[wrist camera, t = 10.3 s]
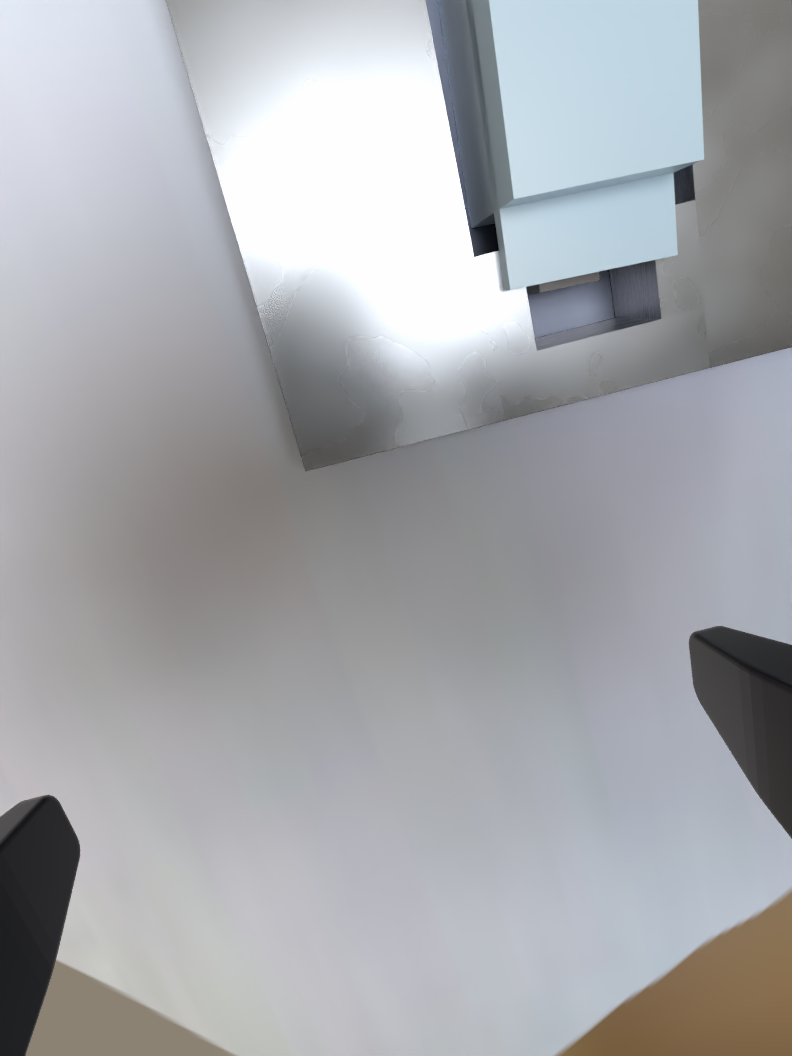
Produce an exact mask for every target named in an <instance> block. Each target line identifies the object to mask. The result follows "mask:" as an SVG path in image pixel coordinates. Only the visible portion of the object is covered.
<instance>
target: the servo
mask: <svg viewBox="0 0 792 1056" xmlns="http://www.w3.org/2000/svg"><path fill="white" fill-rule="evenodd" d="M437 1H438V7H439V14H440V21H441V28H442V35H443V41H444V48H445V55H446V62H447V69H448V76H449V82H450V89H451V96H452V103H453V110H454V117H455V123H456V130H457V137H458V144H459V151H460V157H461V164H462V171H463V178H464V185H465V192H466V198H467V205H468V212H469V219H470V226H471V228H475V227H480V226H485V225H489V224H494V223H495V224H496V231H497V239H498V246H499V254H500V261H501V268H502V276H503V283H504V291H507V290H513V289H518V288H523V287H526V290H527V294H533V293H542V292H546V291H551V290H556V289H561V288H566V287H570V286H575V285H580V284H585V283H589V282H594V281H599V280H600V276H599V271H604V270H609V269H613V268H618V267H623V266H628V265H633V264H637V263H642V262H647V261H652V260H656V259H661V258H666V257H671V256H676V255H678V250H677V231H676V212H675V193H674V175H673V173H674V172H676V171H678V170H681V169H683V168H685V167H688V166H690V165H692V164H695V163H697V162H699V161H702V160H704V142H703V116H702V91H701V66H700V40H699V15H698V0H437Z"/></svg>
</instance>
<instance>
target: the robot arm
mask: <svg viewBox="0 0 792 1056" xmlns="http://www.w3.org/2000/svg"><path fill="white" fill-rule="evenodd" d="M689 649H690V658H691V667H692V676H693V685H694V689H695V692H696V695H697V697H698V699H699V701H700V703H701V705H702V706H703V708H704V710H705V711H706V713H707V714H708V716H709V718H710V719H711V721H712V722H713V724H714V726H715V727H716V729H717V730H718V732H719V734H720V735H721V737H722V738H723V740H724V742H725V743H726V745H727V746H728V748H729V750H730V751H731V753H732V755H733V756H734V758H735V759H736V761H737V763H738V764H739V766H740V767H741V769H742V771H743V772H744V774H745V775H746V777H747V779H748V780H749V782H750V783H751V785H752V786H753V788H754V789H755V791H756V792H757V794H758V795H759V797H760V798H761V799H762V801H763V802H764V803H765V805H766V806H767V807H768V809H769V810H770V811H771V813H772V814H773V815H774V817H775V818H776V819H777V820H778V822H779V823H780V824H781V825H782V827H783V828H784V829H785V831H786V832H787V833H788V834H789V836H790V837H791V838H792V645H790V644H786V643H782V642H779V641H775V640H771V639H768V638H764V637H760V636H757V635H753V634H749V633H745V632H742V631H738V630H734V629H731V628H727V627H723V626H716V627H712V628H708V629H704V630H700V631H696V632H694V633H692V634H691V636H690V639H689ZM79 858H80V845H79V841H78V838H77V836H76V834H75V832H74V830H73V828H72V826H71V824H70V822H69V820H68V818H67V816H66V814H65V812H64V810H63V808H62V806H61V804H60V803H59V801H58V800H57V799H56V798H55V797H54V796H51V795H45V796H41V797H37V798H33V799H29V800H25V801H22V802H20V803H18V804H17V805H15V806H14V807H13V808H11V809H10V810H9V811H7V812H6V813H5V814H4V815H2V816H1V817H0V1056H25V1055H26V1052H27V1049H28V1046H29V1043H30V1040H31V1037H32V1034H33V1031H34V1028H35V1025H36V1022H37V1019H38V1016H39V1013H40V1009H41V1007H42V1004H43V1001H44V998H45V995H46V992H47V989H48V985H49V982H50V979H51V976H52V972H53V969H54V965H55V961H56V957H57V953H58V949H59V945H60V941H61V936H62V932H63V928H64V923H65V919H66V915H67V911H68V906H69V902H70V898H71V893H72V889H73V885H74V880H75V876H76V872H77V867H78V863H79Z"/></svg>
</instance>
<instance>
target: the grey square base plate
mask: <svg viewBox="0 0 792 1056" xmlns="http://www.w3.org/2000/svg"><path fill="white" fill-rule="evenodd" d="M166 3H167V6H168V10H169V13H170V17H171V20H172V23H173V27H174V30H175V33H176V37H177V40H178V43H179V47H180V50H181V54H182V57H183V60H184V64H185V67H186V70H187V74H188V77H189V80H190V84H191V87H192V91H193V94H194V97H195V101H196V104H197V107H198V111H199V114H200V117H201V121H202V124H203V128H204V131H205V134H206V138H207V141H208V144H209V148H210V151H211V154H212V158H213V161H214V165H215V168H216V171H217V175H218V178H219V181H220V185H221V188H222V191H223V195H224V198H225V202H226V205H227V208H228V212H229V215H230V218H231V222H232V225H233V228H234V232H235V235H236V239H237V242H238V245H239V249H240V252H241V255H242V259H243V262H244V265H245V269H246V272H247V276H248V279H249V282H250V286H251V289H252V292H253V296H254V299H255V302H256V306H257V309H258V313H259V316H260V319H261V323H262V326H263V329H264V333H265V336H266V339H267V343H268V346H269V350H270V353H271V356H272V360H273V363H274V366H275V370H276V373H277V376H278V380H279V383H280V387H281V390H282V393H283V397H284V400H285V403H286V407H287V410H288V413H289V417H290V420H291V424H292V427H293V430H294V434H295V437H296V440H297V444H298V447H299V450H300V454H301V457H302V461H303V464H304V467H305V471H308V470H312V469H316V468H320V467H324V466H328V465H332V464H336V463H340V462H344V461H348V460H351V459H355V458H359V457H363V456H367V455H371V454H375V453H379V452H383V451H387V450H391V449H394V448H398V447H402V446H406V445H410V444H414V443H418V442H422V441H426V440H430V439H434V438H437V437H441V436H445V435H449V434H453V433H457V432H461V431H465V430H469V429H473V428H477V427H480V426H484V425H488V424H492V423H496V422H500V421H504V420H508V419H512V418H516V417H520V416H524V415H527V414H531V413H535V412H539V411H543V410H547V409H551V408H555V407H559V406H563V405H567V404H570V403H574V402H578V401H582V400H586V399H590V398H594V397H598V396H602V395H606V394H610V393H613V392H617V391H621V390H625V389H629V388H633V387H637V386H641V385H645V384H649V383H653V382H656V381H660V380H664V379H668V378H672V377H676V376H680V375H684V374H688V373H692V372H696V371H699V370H703V369H707V368H711V367H715V366H719V365H723V364H727V363H731V362H735V361H739V360H742V359H746V358H750V357H754V356H758V355H762V354H766V353H770V352H774V351H778V350H782V349H785V348H789V347H792V0H698V15H699V40H700V66H701V91H702V116H703V142H704V160H702V161H699V162H697V163H695V164H692V165H690V166H688V167H685V168H683V169H681V170H678V171H676V172H674V173H673V175H674V193H675V212H676V231H677V250H678V255H676V256H671V257H666V258H661V259H656V260H652V261H647V262H642V263H637V264H633V265H628V266H623V267H618V268H613V269H609V273H610V281H611V289H612V297H613V305H614V312H615V318H613V319H609V320H605V321H601V322H597V323H593V324H589V325H586V326H582V327H578V328H574V329H570V330H566V331H562V332H558V333H554V334H551V335H547V336H543V337H539V338H535V337H534V331H533V325H532V319H531V313H530V307H529V301H528V296H527V290H526V287H523V288H518V289H513V290H507V291H504V283H503V276H502V268H501V261H500V254H499V251H495V252H491V253H488V254H484V255H480V256H476V257H474V254H473V248H472V243H471V238H470V233H469V227H468V222H467V217H466V211H465V206H464V201H463V196H462V190H461V185H460V180H459V175H458V169H457V164H456V159H455V153H454V148H453V143H452V138H451V132H450V127H449V122H448V116H447V111H446V106H445V101H444V95H443V90H442V85H441V80H440V74H439V69H438V64H437V58H436V53H435V48H434V43H433V37H432V32H431V27H430V22H429V16H428V11H427V6H426V0H166Z"/></svg>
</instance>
